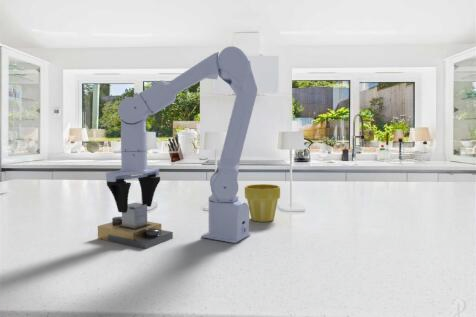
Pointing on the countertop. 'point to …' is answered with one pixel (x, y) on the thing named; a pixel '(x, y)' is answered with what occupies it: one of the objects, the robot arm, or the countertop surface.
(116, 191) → the robot arm
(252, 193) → the plant pot
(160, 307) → the countertop surface
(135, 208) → the grey metal block
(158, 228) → the brass plate with knob
